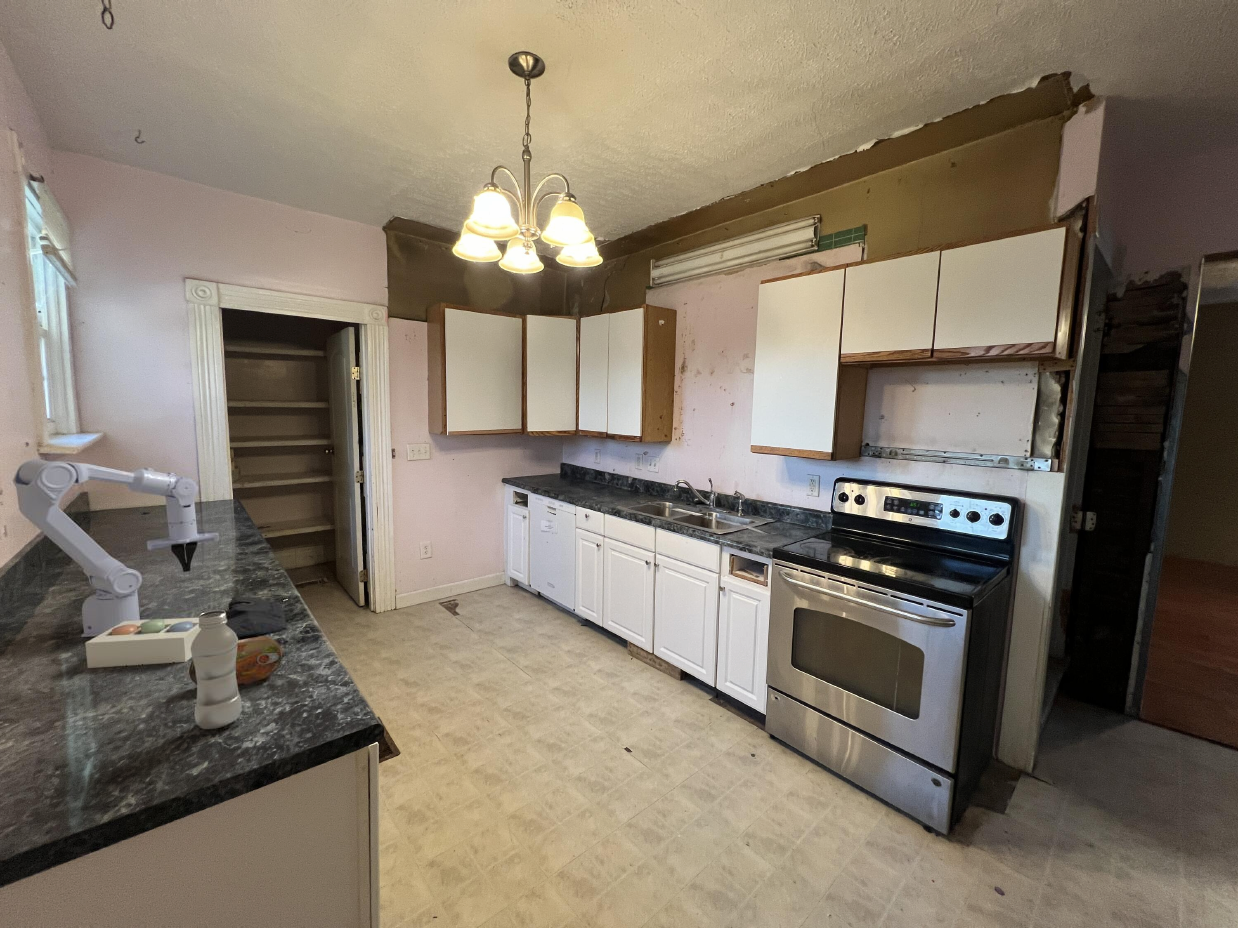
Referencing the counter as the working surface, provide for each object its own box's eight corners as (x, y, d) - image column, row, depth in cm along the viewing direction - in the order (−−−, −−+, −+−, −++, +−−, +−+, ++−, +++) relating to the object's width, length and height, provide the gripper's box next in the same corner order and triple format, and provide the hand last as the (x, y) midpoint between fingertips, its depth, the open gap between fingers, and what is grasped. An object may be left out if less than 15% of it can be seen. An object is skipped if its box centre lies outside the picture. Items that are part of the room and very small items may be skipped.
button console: (87, 667, 109) (85, 642, 109) (126, 644, 120) (124, 621, 119) (185, 661, 113) (183, 637, 112) (214, 639, 123) (213, 616, 123)
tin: (190, 693, 101) (186, 652, 100) (194, 685, 104) (191, 645, 103) (282, 676, 108) (280, 637, 107) (283, 669, 110) (281, 631, 109)
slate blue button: (166, 641, 115) (165, 629, 114) (177, 633, 118) (176, 621, 118) (186, 640, 115) (185, 628, 115) (197, 632, 119) (196, 620, 119)
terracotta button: (107, 644, 112) (106, 632, 112) (121, 636, 116) (120, 624, 116) (129, 643, 113) (128, 631, 113) (142, 635, 117) (141, 623, 117)
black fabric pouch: (212, 648, 120) (210, 628, 119) (211, 616, 137) (210, 599, 136) (290, 631, 129) (289, 613, 129) (280, 603, 146) (279, 587, 146)
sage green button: (136, 639, 113) (135, 626, 113) (149, 631, 117) (148, 619, 117) (157, 638, 114) (156, 625, 114) (169, 630, 118) (168, 618, 118)
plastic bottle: (211, 712, 95) (204, 607, 92) (251, 711, 95) (244, 606, 93) (185, 735, 88) (176, 622, 86) (228, 734, 89) (220, 621, 87)
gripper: (143, 528, 130) (149, 580, 132) (216, 520, 139) (220, 569, 141) (146, 522, 136) (152, 572, 138) (216, 515, 145) (221, 562, 146)
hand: (187, 570), depth 140 cm, fingers closed
